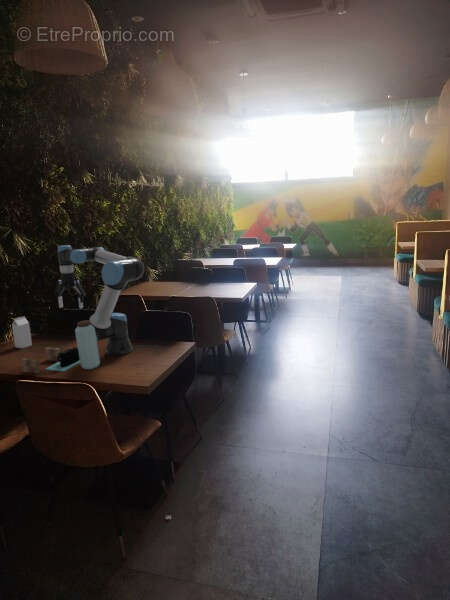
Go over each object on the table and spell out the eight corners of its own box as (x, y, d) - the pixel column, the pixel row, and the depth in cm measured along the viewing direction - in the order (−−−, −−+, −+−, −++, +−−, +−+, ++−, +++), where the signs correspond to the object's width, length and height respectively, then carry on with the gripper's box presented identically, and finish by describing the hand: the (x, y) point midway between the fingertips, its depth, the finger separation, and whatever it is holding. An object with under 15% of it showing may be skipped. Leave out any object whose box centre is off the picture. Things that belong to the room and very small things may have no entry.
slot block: (61, 360, 235) (60, 348, 233) (37, 373, 216) (35, 360, 215) (48, 359, 237) (47, 347, 236) (23, 371, 219) (21, 359, 217)
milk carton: (32, 345, 264) (28, 316, 260) (21, 348, 258) (17, 319, 254) (25, 344, 268) (21, 315, 264) (15, 347, 262) (10, 318, 258)
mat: (85, 359, 234) (84, 358, 234) (64, 371, 217) (64, 370, 217) (66, 358, 237) (66, 357, 237) (45, 370, 221) (45, 368, 220)
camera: (72, 357, 236) (71, 344, 234) (82, 359, 233) (81, 345, 232) (53, 366, 223) (51, 352, 222) (63, 368, 221) (61, 354, 219)
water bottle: (89, 371, 216) (82, 325, 210) (77, 368, 221) (69, 323, 215) (104, 364, 224) (97, 320, 218) (91, 361, 229) (84, 318, 224)
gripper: (89, 271, 241) (93, 306, 246) (52, 271, 248) (57, 305, 252) (82, 273, 234) (86, 309, 239) (44, 273, 241) (49, 308, 245)
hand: (71, 307), depth 245 cm, fingers open, 13 cm apart
